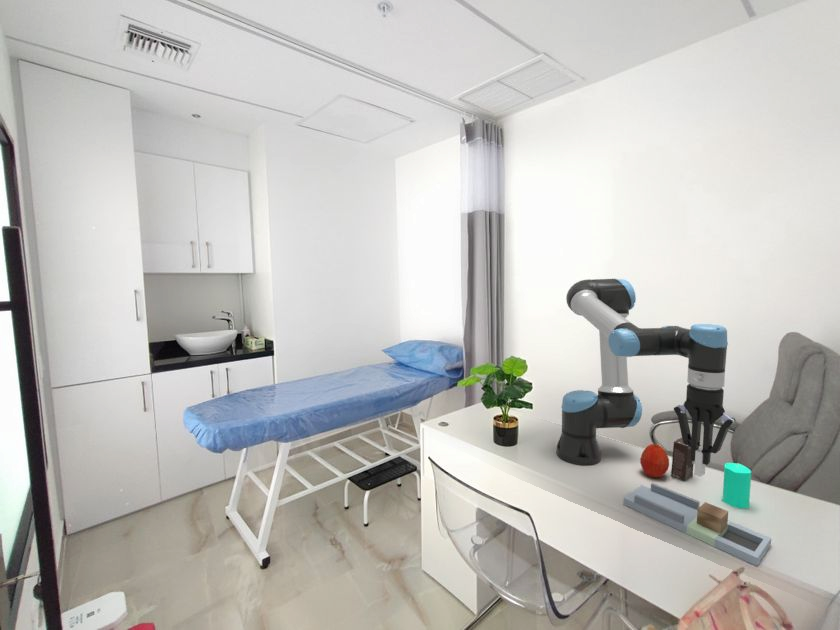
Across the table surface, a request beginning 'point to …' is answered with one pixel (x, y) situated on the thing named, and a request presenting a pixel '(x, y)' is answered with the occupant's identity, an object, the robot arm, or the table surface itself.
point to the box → (681, 461)
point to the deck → (684, 518)
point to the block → (712, 517)
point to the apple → (654, 461)
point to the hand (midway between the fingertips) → (699, 474)
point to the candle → (736, 485)
